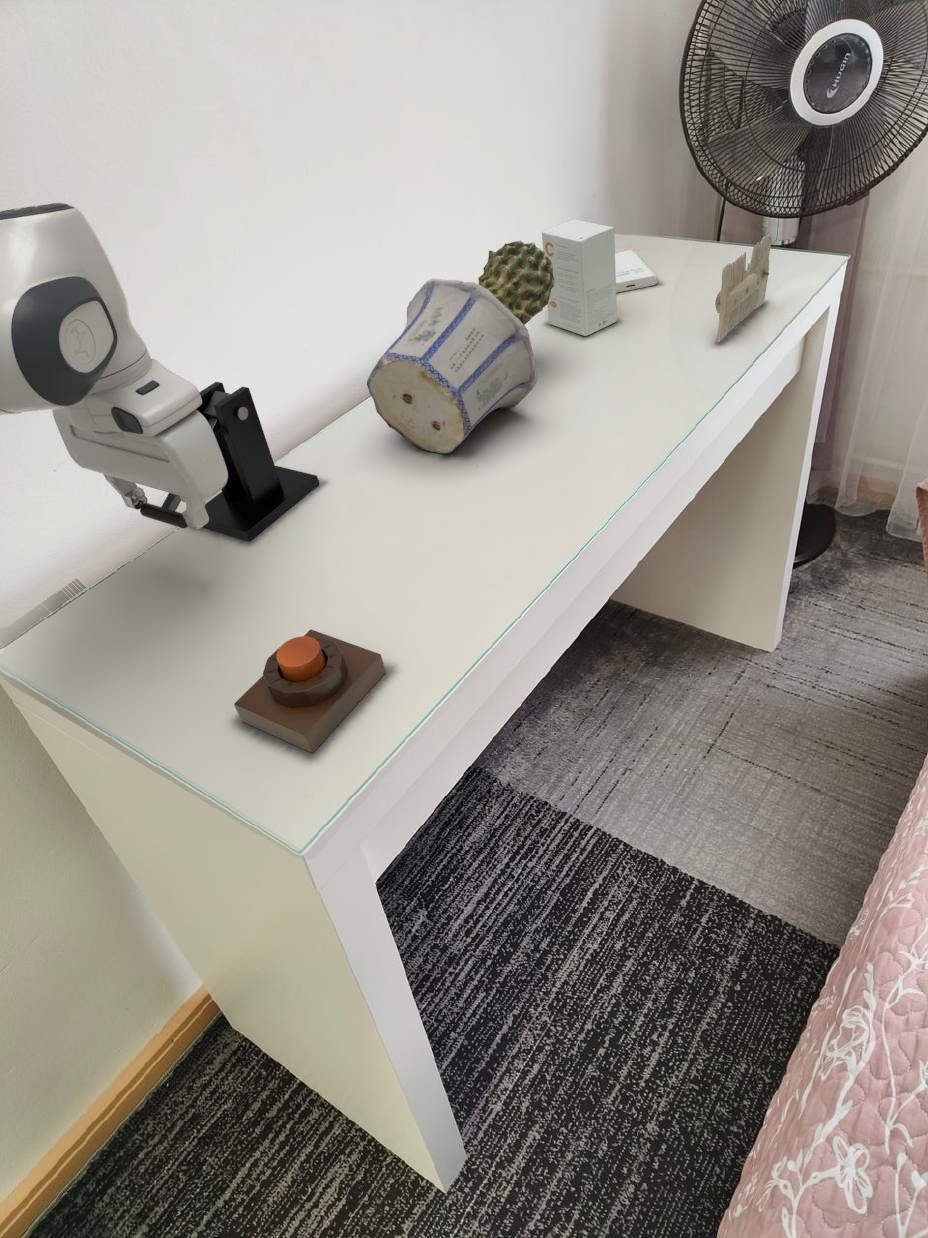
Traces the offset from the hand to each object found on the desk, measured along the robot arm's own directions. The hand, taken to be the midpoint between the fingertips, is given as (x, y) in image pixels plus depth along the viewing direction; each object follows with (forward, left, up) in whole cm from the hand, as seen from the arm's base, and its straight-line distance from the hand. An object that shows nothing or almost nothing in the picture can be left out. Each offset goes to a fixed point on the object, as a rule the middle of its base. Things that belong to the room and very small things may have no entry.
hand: (168, 514), depth 87 cm
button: (+9, -27, -2) cm, 28 cm away
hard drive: (+71, +44, -6) cm, 84 cm away
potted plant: (+39, +15, -6) cm, 43 cm away
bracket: (+8, +7, -6) cm, 13 cm away
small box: (+59, +31, -6) cm, 68 cm away
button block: (+9, -27, -6) cm, 29 cm away
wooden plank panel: (+77, +18, -6) cm, 79 cm away
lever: (+5, +4, +2) cm, 7 cm away
